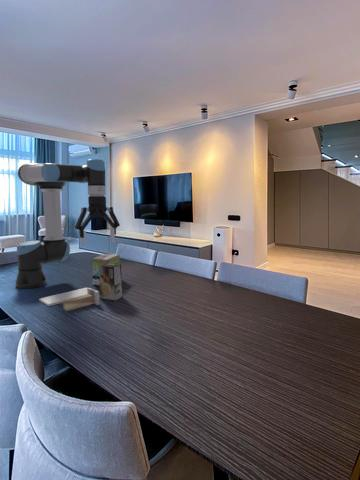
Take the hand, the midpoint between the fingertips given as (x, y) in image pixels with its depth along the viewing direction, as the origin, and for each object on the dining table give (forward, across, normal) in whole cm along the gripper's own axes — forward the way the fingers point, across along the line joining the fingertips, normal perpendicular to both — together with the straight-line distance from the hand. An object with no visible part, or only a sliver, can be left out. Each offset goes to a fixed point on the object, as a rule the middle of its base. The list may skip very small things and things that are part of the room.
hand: (98, 243), depth 136 cm
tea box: (+27, +17, +27) cm, 42 cm away
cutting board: (+27, -9, +15) cm, 32 cm away
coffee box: (+27, +6, +2) cm, 28 cm away
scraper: (+27, -10, 0) cm, 29 cm away
